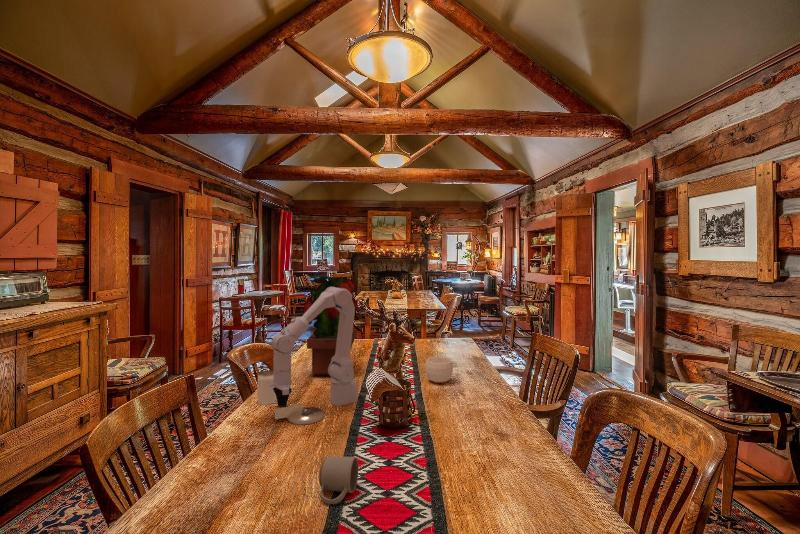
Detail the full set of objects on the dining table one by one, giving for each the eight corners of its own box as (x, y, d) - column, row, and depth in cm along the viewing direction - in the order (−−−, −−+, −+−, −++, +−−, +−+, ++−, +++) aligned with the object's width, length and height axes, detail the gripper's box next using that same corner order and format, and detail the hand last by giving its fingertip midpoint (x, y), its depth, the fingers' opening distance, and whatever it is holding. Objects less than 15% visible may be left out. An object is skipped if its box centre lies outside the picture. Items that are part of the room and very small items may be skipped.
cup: (421, 384, 176) (421, 362, 175) (429, 376, 187) (429, 355, 187) (448, 387, 171) (449, 365, 171) (455, 379, 183) (456, 358, 183)
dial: (318, 408, 144) (318, 394, 144) (327, 421, 133) (328, 405, 133) (272, 415, 137) (272, 400, 137) (277, 429, 126) (277, 413, 126)
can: (270, 408, 146) (270, 376, 145) (254, 407, 147) (254, 374, 147) (279, 402, 152) (279, 370, 152) (263, 400, 154) (263, 369, 153)
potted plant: (356, 366, 202) (357, 276, 200) (353, 380, 179) (354, 279, 178) (312, 365, 201) (312, 275, 199) (303, 380, 179) (303, 278, 177)
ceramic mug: (327, 478, 102) (327, 448, 102) (358, 481, 101) (359, 451, 101) (312, 504, 92) (312, 472, 91) (347, 508, 91) (347, 475, 90)
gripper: (267, 365, 141) (267, 403, 142) (273, 377, 128) (273, 419, 128) (287, 362, 144) (287, 400, 145) (295, 374, 131) (295, 415, 131)
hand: (282, 409), depth 137 cm, fingers closed
